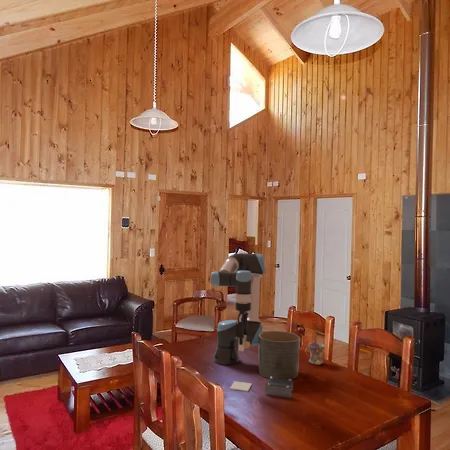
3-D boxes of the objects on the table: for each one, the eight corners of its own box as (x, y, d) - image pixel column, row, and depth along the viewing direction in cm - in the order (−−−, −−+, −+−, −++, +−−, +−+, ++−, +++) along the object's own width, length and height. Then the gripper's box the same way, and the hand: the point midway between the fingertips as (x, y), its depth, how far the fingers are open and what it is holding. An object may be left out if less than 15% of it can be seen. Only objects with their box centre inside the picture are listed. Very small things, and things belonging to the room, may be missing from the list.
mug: (318, 359, 238) (319, 342, 238) (327, 365, 229) (327, 346, 230) (301, 361, 234) (301, 343, 235) (309, 366, 226) (309, 348, 226)
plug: (234, 350, 194) (234, 338, 194) (236, 348, 197) (236, 336, 197) (248, 352, 192) (249, 339, 192) (250, 349, 196) (250, 337, 196)
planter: (303, 370, 220) (304, 334, 220) (292, 384, 200) (293, 344, 200) (265, 363, 229) (266, 329, 230) (251, 376, 209) (252, 338, 209)
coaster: (229, 389, 191) (229, 388, 191) (234, 382, 200) (234, 381, 200) (248, 391, 189) (248, 390, 189) (251, 384, 198) (251, 383, 198)
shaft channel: (265, 394, 186) (265, 383, 186) (268, 386, 196) (269, 376, 196) (290, 398, 183) (291, 387, 183) (293, 389, 193) (293, 379, 193)
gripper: (247, 305, 186) (246, 355, 185) (254, 299, 202) (253, 345, 202) (231, 304, 188) (230, 353, 187) (239, 298, 204) (238, 343, 204)
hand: (242, 349), depth 195 cm, fingers closed on plug, 4 cm apart
